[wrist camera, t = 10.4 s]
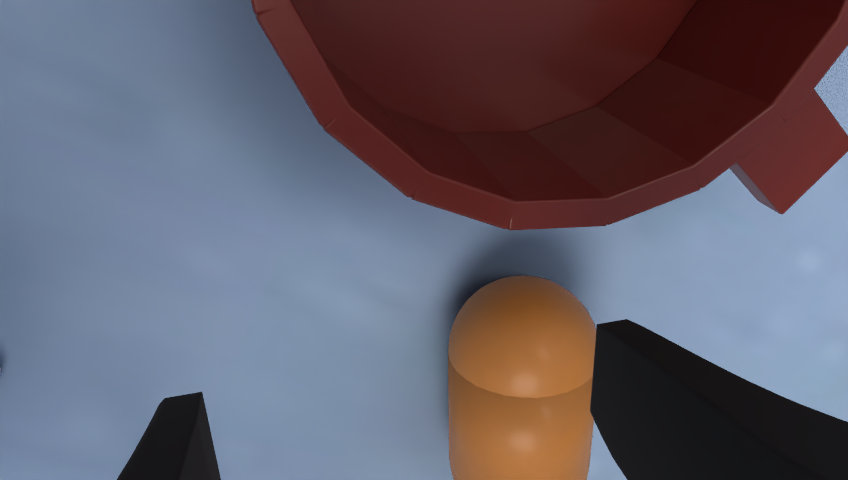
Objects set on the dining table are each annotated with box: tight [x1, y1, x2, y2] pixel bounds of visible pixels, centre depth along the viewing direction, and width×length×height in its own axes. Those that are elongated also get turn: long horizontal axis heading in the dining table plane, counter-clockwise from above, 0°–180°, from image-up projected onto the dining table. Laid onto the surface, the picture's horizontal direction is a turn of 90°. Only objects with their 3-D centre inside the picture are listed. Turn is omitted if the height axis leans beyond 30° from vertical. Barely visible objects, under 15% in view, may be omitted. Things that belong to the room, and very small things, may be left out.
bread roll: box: [448, 276, 596, 480], centre depth 22 cm, size 8×4×4 cm, turn 2°
